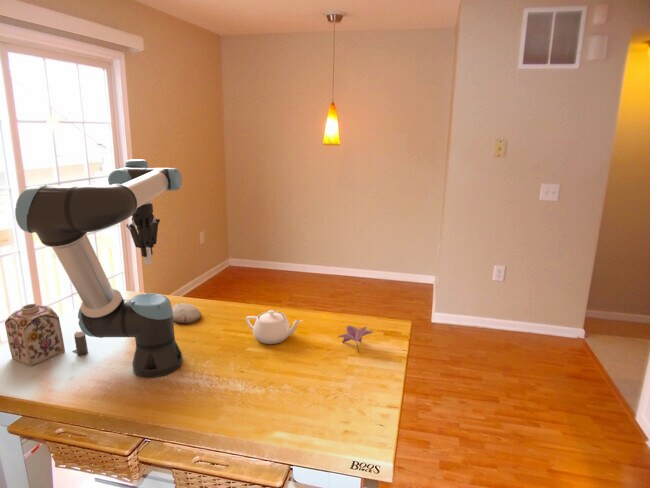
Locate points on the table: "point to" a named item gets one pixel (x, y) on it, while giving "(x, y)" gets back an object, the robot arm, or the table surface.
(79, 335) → the pepper shaker
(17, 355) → the decorative jar
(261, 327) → the teapot
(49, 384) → the table surface
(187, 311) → the stone
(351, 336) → the lily
